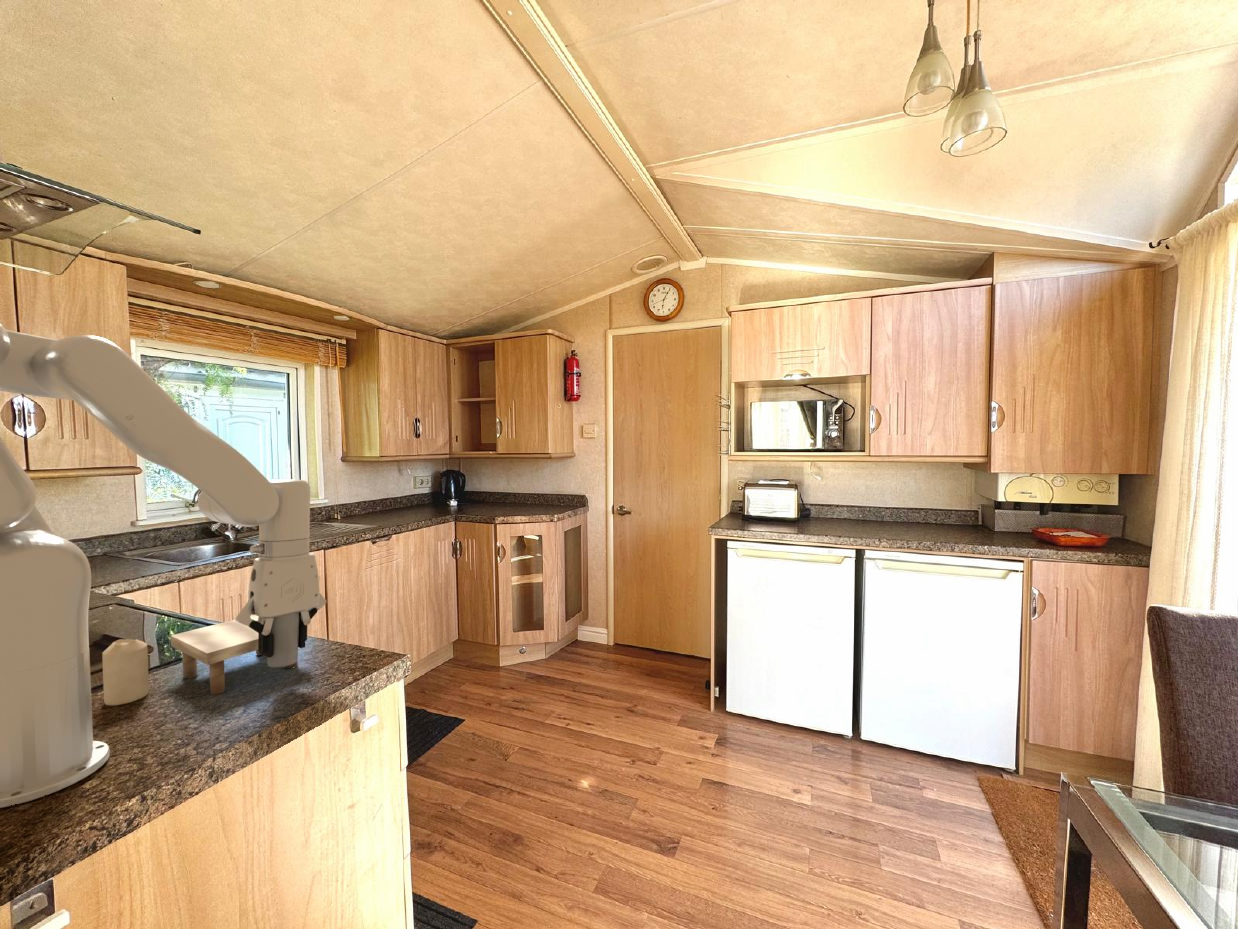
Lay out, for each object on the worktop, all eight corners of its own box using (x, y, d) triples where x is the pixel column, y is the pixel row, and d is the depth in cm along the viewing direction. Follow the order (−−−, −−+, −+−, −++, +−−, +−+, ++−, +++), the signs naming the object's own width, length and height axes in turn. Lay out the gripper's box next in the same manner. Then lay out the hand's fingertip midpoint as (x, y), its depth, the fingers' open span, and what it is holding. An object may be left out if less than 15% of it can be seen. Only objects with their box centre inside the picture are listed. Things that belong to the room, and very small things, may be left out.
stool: (208, 700, 86) (207, 653, 86) (172, 678, 94) (170, 635, 94) (307, 665, 99) (306, 625, 99) (268, 648, 108) (267, 611, 108)
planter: (303, 661, 91) (304, 604, 91) (275, 669, 87) (276, 609, 87) (289, 656, 93) (291, 600, 93) (262, 664, 89) (263, 605, 89)
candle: (157, 690, 90) (155, 634, 89) (128, 705, 84) (126, 646, 84) (125, 690, 89) (123, 634, 89) (94, 706, 84) (92, 647, 84)
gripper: (239, 558, 81) (237, 672, 81) (343, 544, 95) (342, 641, 95) (218, 553, 85) (217, 661, 85) (322, 541, 99) (320, 634, 99)
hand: (283, 650), depth 90 cm, fingers closed on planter, 4 cm apart
